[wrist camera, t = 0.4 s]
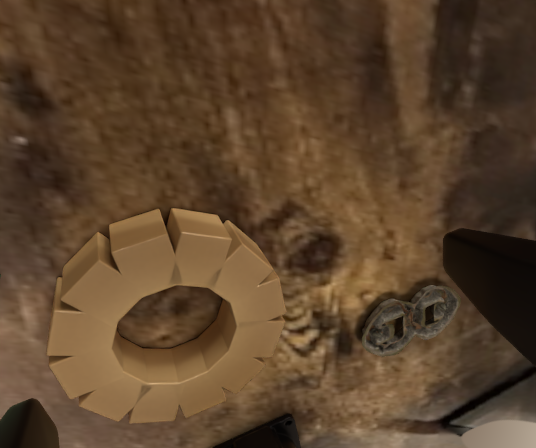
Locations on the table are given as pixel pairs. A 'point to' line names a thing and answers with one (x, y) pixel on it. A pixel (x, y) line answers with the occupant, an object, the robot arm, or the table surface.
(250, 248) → the hoop
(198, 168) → the table surface
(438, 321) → the corroded twin loop
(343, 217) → the table surface
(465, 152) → the table surface
